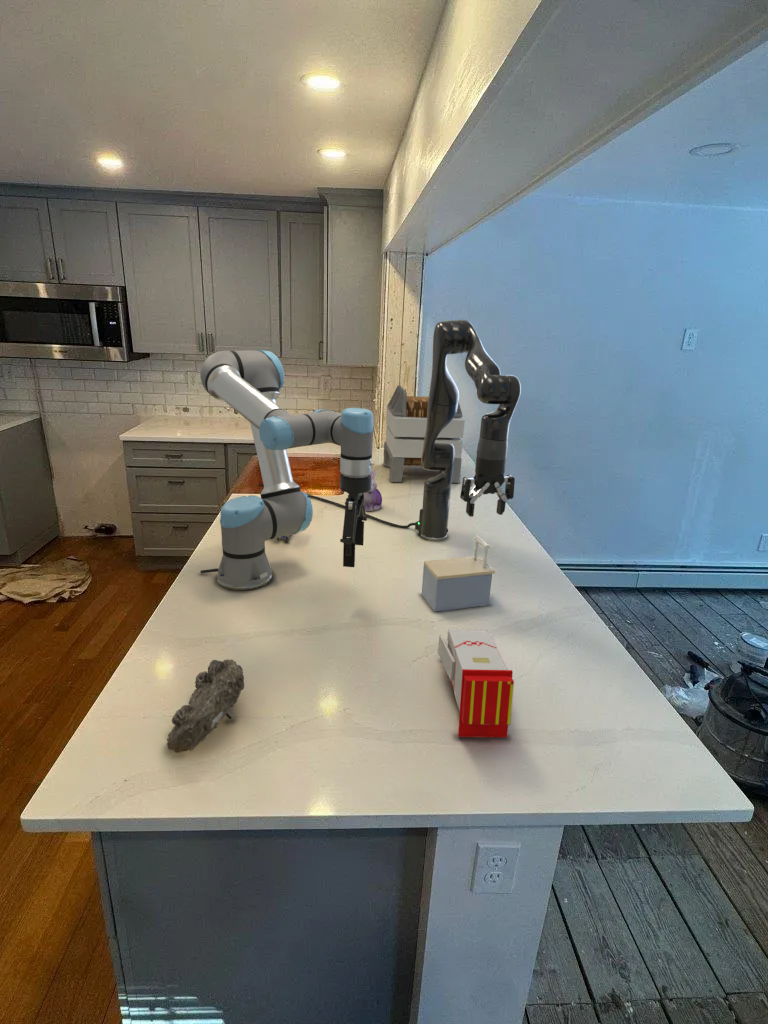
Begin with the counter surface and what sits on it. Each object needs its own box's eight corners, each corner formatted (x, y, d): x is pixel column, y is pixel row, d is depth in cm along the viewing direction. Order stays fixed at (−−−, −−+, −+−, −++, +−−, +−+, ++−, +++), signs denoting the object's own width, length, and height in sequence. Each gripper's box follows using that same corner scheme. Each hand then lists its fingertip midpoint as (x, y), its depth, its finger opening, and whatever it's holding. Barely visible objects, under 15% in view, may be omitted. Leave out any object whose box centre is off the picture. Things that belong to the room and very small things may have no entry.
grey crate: (382, 463, 289) (386, 382, 275) (445, 464, 293) (451, 384, 279) (390, 482, 257) (394, 392, 243) (460, 483, 261) (468, 394, 247)
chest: (473, 588, 163) (476, 559, 160) (488, 605, 154) (492, 574, 151) (421, 594, 158) (423, 564, 155) (434, 611, 149) (437, 579, 146)
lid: (478, 558, 160) (481, 533, 157) (494, 573, 151) (497, 546, 148) (423, 563, 155) (425, 537, 152) (437, 579, 146) (439, 551, 144)
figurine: (366, 513, 218) (367, 475, 213) (355, 505, 226) (356, 468, 221) (387, 510, 222) (389, 473, 217) (376, 502, 231) (377, 466, 226)
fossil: (192, 660, 117) (244, 628, 112) (224, 691, 120) (276, 661, 115) (142, 746, 98) (202, 712, 93) (182, 779, 101) (242, 748, 96)
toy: (488, 613, 130) (523, 677, 101) (484, 667, 133) (517, 744, 104) (435, 612, 130) (455, 676, 101) (432, 666, 133) (451, 743, 103)
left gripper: (363, 490, 124) (360, 578, 131) (378, 462, 147) (375, 537, 154) (329, 488, 125) (328, 575, 132) (349, 460, 148) (347, 535, 155)
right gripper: (472, 459, 139) (466, 521, 144) (523, 457, 143) (516, 518, 148) (459, 452, 145) (454, 511, 151) (509, 450, 150) (502, 508, 155)
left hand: (353, 555), depth 143 cm, fingers open, 13 cm apart
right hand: (485, 514), depth 150 cm, fingers open, 8 cm apart
